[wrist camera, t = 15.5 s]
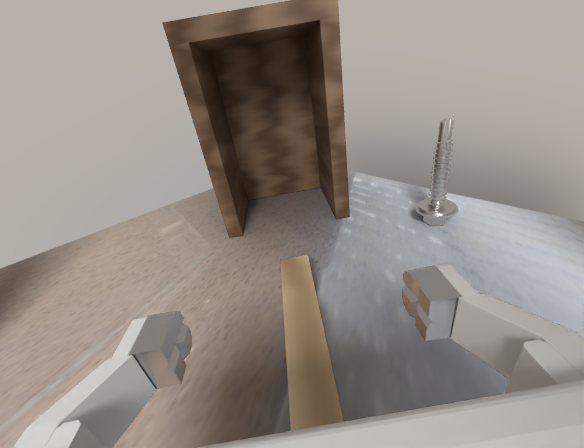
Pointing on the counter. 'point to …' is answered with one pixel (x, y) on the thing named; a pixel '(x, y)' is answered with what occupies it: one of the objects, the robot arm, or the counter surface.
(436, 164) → the screw
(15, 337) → the counter surface
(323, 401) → the tan wooden bar
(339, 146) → the tall brown box
